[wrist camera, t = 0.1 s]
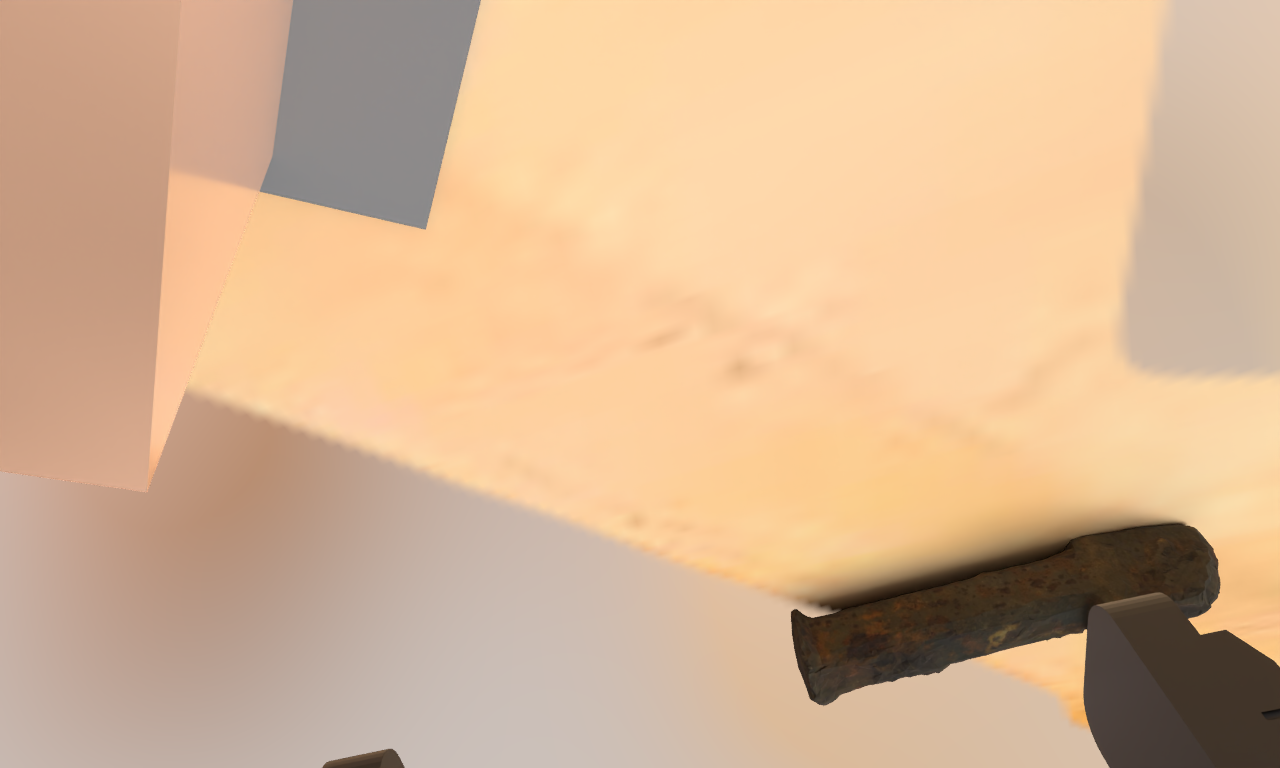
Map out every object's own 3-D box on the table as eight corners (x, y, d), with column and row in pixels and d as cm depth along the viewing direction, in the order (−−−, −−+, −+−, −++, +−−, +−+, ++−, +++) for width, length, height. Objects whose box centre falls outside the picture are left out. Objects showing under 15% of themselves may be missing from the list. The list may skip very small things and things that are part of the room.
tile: (201, -259, 23) (-51, -113, 12) (322, -217, 24) (184, -45, 13) (173, 132, 29) (-17, 468, 18) (272, 156, 30) (147, 491, 19)
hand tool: (792, 651, 49) (817, 737, 45) (781, 601, 47) (806, 687, 43) (1181, 556, 48) (1237, 636, 44) (1190, 500, 46) (1251, 580, 42)
